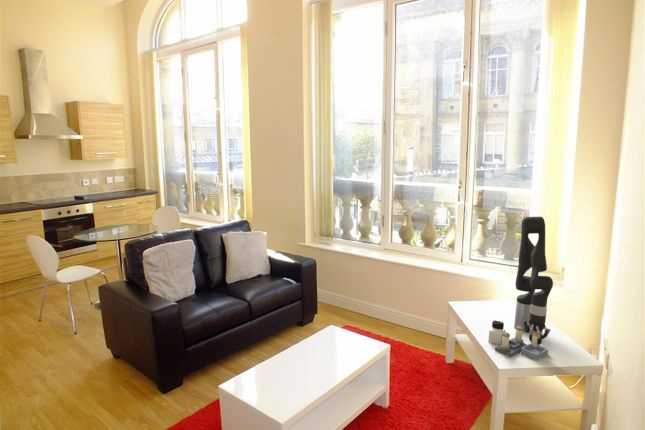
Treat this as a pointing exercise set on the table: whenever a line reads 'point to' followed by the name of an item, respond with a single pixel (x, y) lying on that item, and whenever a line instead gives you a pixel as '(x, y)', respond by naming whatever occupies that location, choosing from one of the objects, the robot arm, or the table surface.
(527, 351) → the tray
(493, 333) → the medicine bottle
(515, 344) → the fuse holder
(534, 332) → the marked fuse
